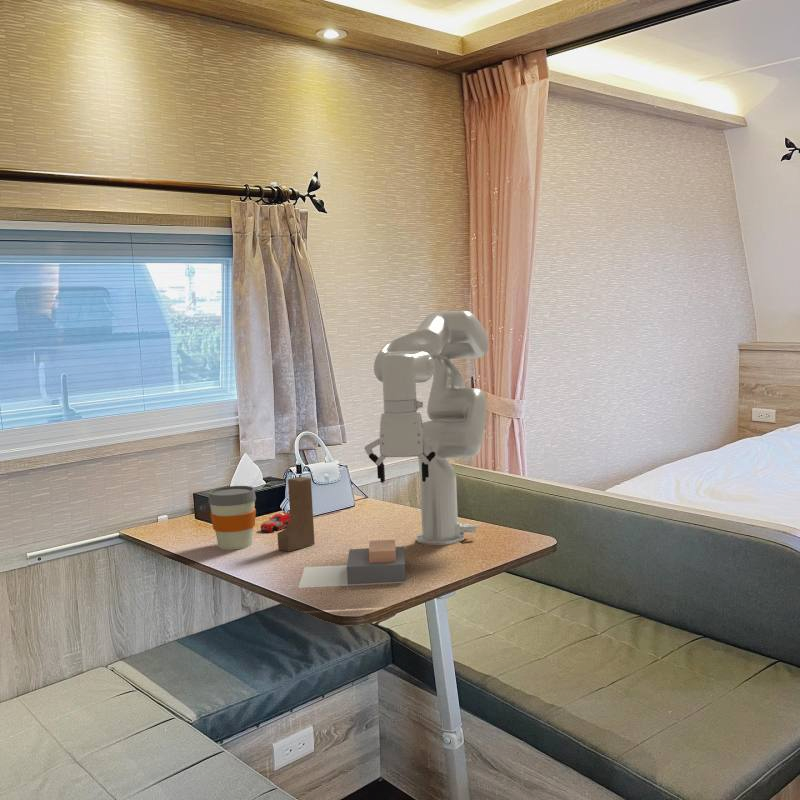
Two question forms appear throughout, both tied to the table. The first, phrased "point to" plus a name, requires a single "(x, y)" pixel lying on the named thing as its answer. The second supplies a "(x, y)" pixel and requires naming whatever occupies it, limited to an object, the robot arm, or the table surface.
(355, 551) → the grey flat block
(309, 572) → the mat
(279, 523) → the race car
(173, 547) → the table surface
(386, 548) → the tile
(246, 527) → the reusable coffee cup
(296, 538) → the wooden block
